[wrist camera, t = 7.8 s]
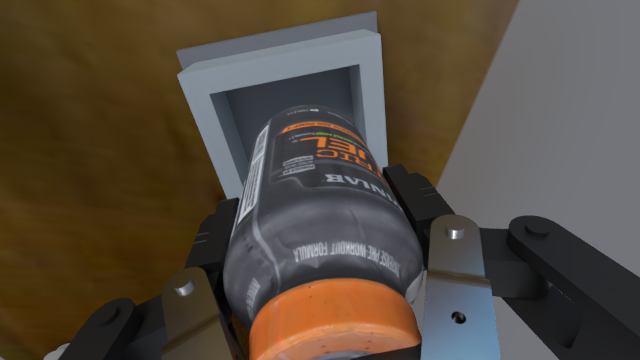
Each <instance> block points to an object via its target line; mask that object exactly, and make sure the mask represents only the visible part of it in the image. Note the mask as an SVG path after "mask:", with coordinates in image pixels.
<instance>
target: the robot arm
mask: <svg viewBox="0 0 640 360" xmlns="http://www.w3.org/2000/svg"><path fill="white" fill-rule="evenodd" d="M382 174H383V176H384V178H385V180H386V181H387V183H388V185H389V187H390V189H391V191H392V193H393V194H394V196H395V197H396V199H397V201H398V203H399V205H400V206H401V208H402V210H403V211H404V214H405V216H406V218H407V219H408V221H409V222H410V225H411V226H412V228H413V230H414V232H415V233H416V235H417V238H418V241H419V243H420V245H421V249H422V252H423V265H424V270H423V271H425V270H427V278H426V293H425V306H424V320H423V335H422V342H421V343H420V344H417V345H416V346H412V347H407V348H402V349H397V350H392V351H387V352H382V353H376V354H370V355H366V356H361V357H357V358H354V359H351V360H501V358H500V350H499V343H498V335H497V328H496V320H495V313H494V305H493V298H492V296H498V297H502V299H503V300H504V301H505V302H506V303H507V304H508V305H509V306H510V307H511V308H512V309H513V310H514V312H515V313H516V314H517V315H518V316H519V317H520V318H521V319H522V320H523V321H524V322H525V323H526V324H527V325H528V326H529V328H530V329H531V330H532V331H533V332H534V333H535V334H536V335H537V336H538V337H539V338H540V339H541V340H542V342H543V343H544V344H545V345H546V346H547V347H548V348H549V349H550V350H551V351H552V352H553V353H554V354H555V355H556V357H558V359H559V360H640V277H638V276H637V275H635V274H633V273H632V272H630V271H629V270H627V269H626V268H624V267H623V266H621V265H620V264H618V263H617V262H615V261H614V260H612V259H611V258H609V257H608V256H606V255H604V254H603V253H601V252H600V251H598V250H597V249H595V248H594V247H592V246H591V245H589V244H588V243H586V242H584V241H583V240H582V239H580V238H578V237H577V236H575V235H574V234H572V233H571V232H569V231H568V230H566V229H565V228H563V227H562V226H560V225H559V224H557V223H555V222H554V221H551V220H549V219H546V218H543V217H539V216H520V217H517V218H515V219H513V220H512V221H511V222H510V224H509V228H508V229H488V228H479V227H478V226H477V224H476V223H475V222H474V221H472V220H470V219H469V218H467V217H464V216H461V215H456V214H455V213H454V211H453V210H452V209H451V208H450V206H449V205H448V204H447V203H446V201H445V200H444V199H443V198H442V197H441V195H440V194H439V193H438V192H437V190H436V189H435V188H434V187H433V185H432V184H431V183H430V182H429V180H428V179H427V178H425V177H424V176H422V175H420V174H418V173H412V174H408V172H407V171H406V169H405V168H404V167H403V165H402V164H396V165H392V166H387V167H383V168H382ZM239 201H240V199H239V198H238V197H236V198H231V199H226V200H222V201H219V203H218V206H217V209H216V212H215V214H213V215H209V216H208V217H207V218H206V219H205V220H204V222H203V223H202V224H201V225H200V228H199V231H198V233H197V235H198V236H196V239H195V241H194V242H195V244H193V247H192V249H191V252H190V255H189V257H188V260H187V263H186V265H185V268H184V270H182V271H180V272H178V273H176V274H175V275H174V276H172V277H171V278H170V279H169V280H168V281H167V282H166V284H165V285H164V287H163V289H162V292H161V295H159V296H157V297H155V298H152V299H150V300H148V301H146V302H144V303H142V304H139V305H137V306H136V305H135V304H134V302H133V301H132V300H131V299H129V298H119V299H115V300H113V301H110V302H108V303H106V304H105V305H103V306H102V307H100V308H99V309H98V310H97V311H95V312H94V313H93V314H92V315H91V316H90V318H89V319H88V320H87V321H86V323H85V324H84V325H83V327H82V328H81V329H80V331H79V332H78V333H77V335H76V336H75V337H74V339H73V340H72V341H71V343H70V344H69V345H68V347H67V348H66V349H65V350H64V352H63V353H62V354H61V356H60V357H59V358H58V360H248V359H247V356H246V353H245V351H244V348H243V346H242V343H241V341H240V338H239V336H238V333H237V330H236V328H235V325H234V323H233V321H232V319H231V317H232V309H231V308H230V305H229V303H228V301H227V298H226V295H225V291H224V284H223V271H224V263H225V258H226V254H227V250H228V247H229V243H230V238H231V234H232V230H233V226H234V222H235V218H236V214H237V210H238V206H239ZM552 284H553V285H554V286H555V287H554V286H553V285H552ZM559 290H560V291H561V292H562V293H561V292H560V291H559ZM566 296H567V297H568V298H569V299H568V298H567V297H566Z"/></svg>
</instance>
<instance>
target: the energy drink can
mask: <svg viewBox="0 0 640 360" xmlns="http://www.w3.org/2000/svg"><path fill="white" fill-rule="evenodd" d="M69 344H70V343H67V344H64V345H62V346H60V347H59V348H58V349H57V350H56V351H53V352H51V353H49V354H48V355H46V356H45V358H44V359H43V360H58V358H59V357H60V356H61V354H62V353H63V352H64V350H65V349H66V348H67V347H68V345H69Z"/></svg>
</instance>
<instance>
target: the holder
mask: <svg viewBox="0 0 640 360" xmlns="http://www.w3.org/2000/svg"><path fill="white" fill-rule="evenodd" d="M176 54H177V56H178V59H179V61H180V64H181V66H182V69H183V71H182V72H180V73H179V74H177V77H178V79H179V82H180V84H181V87H182V89H183V92H184V94H185V96H186V99H187V101H188V104H189V106H190V109H191V111H192V114H193V116H194V119H195V121H196V124H197V126H198V128H199V131H200V133H201V136H202V138H203V141H204V143H205V146H206V148H207V151H208V153H209V155H210V158H211V160H212V163H213V165H214V168H215V170H216V173H217V175H218V178H219V180H220V183H221V185H222V187H223V190H224V192H225V195H226V197H227V199H231V198H236V197H238V198H239V199H240V197H241V194H242V189H243V185H244V181H245V177H246V173H247V169H248V165H249V161H250V156H251V153H252V147H253V144H254V141H255V139H256V137H257V135H258V133H259V131H260V130H261V128H262V127H263V126H264V125H265V123H266V122H267V121H269V120H270V119H271V118H272V117H274V116H275V115H276V114H278V113H280V112H282V111H284V110H286V109H289V108H291V107H296V106H302V105H321V106H325V107H329V108H331V109H334V110H337V111H338V112H340V113H341V114H343V115H344V116H346V117H347V118H348V119H349V120H350V121H351V122H353V124H354V125H355V126H356V128H357V129H358V131H359V132H360V134H361V136H362V138H363V139H364V141H365V143H366V145H367V147H368V149H369V151H370V152H371V154H372V156H373V158H374V160H375V161H376V163H377V165H378V167H379V169H380V170H381V172H382V168H383V167H387V166H388V158H387V140H386V122H385V104H384V86H383V68H382V50H381V34H378V32H377V15H376V11H370V12H365V13H360V14H355V15H350V16H344V17H339V18H334V19H329V20H324V21H319V22H314V23H309V24H304V25H299V26H294V27H289V28H284V29H279V30H274V31H269V32H264V33H259V34H254V35H249V36H244V37H239V38H234V39H229V40H224V41H219V42H214V43H209V44H204V45H199V46H194V47H189V48H184V49H180V50H177V51H176Z"/></svg>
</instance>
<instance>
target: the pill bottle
mask: <svg viewBox="0 0 640 360" xmlns="http://www.w3.org/2000/svg"><path fill="white" fill-rule="evenodd" d="M423 270H424V265H423V252H422V249H421V245H420V243H419V241H418V238H417V235H416V233H415V232H414V230H413V228H412V226H411V225H410V222H409V221H408V219H407V218H406V216H405V214H404V211H403V210H402V208H401V206H400V205H399V203H398V201H397V199H396V197H395V196H394V194H393V193H392V191H391V189H390V187H389V185H388V183H387V181H386V180H385V178H384V176H383V174H382V172H381V170H380V169H379V167H378V165H377V163H376V161H375V160H374V158H373V156H372V154H371V152H370V151H369V149H368V147H367V145H366V143H365V141H364V139H363V138H362V136H361V134H360V132H359V131H358V129H357V128H356V126H355V125H354V124H353V122H351V121H350V120H349V119H348V118H347V117H346V116H344V115H343V114H341V113H340V112H338V111H337V110H334V109H331V108H329V107H325V106H321V105H302V106H296V107H291V108H289V109H286V110H284V111H282V112H280V113H278V114H276V115H275V116H274V117H272V118H271V119H270V120H269V121H267V122H266V123H265V125H264V126H263V127H262V128H261V130H260V131H259V133H258V135H257V137H256V139H255V141H254V144H253V147H252V153H251V156H250V161H249V165H248V169H247V173H246V177H245V181H244V185H243V189H242V194H241V197H240V201H239V206H238V210H237V214H236V218H235V222H234V226H233V230H232V234H231V238H230V243H229V247H228V250H227V254H226V258H225V263H224V271H223V284H224V291H225V295H226V298H227V301H228V303H229V305H230V308H231V309H232V311H233V313H234V315H235V316H236V317H237V319H238V320H239V321H240V322H241V323H242V324H243V325H244V326H245V327H246V328H247V329H248V330H249V331H250V337H249V349H250V354H249V360H351V359H354V358H357V357H361V356H366V355H370V354H376V353H382V352H387V351H392V350H397V349H402V348H407V347H412V346H416V345H417V344H420V343H421V342H422V337H421V334H420V332H419V329H418V326H417V322H416V318H415V315H414V312H413V310H412V308H411V306H412V305H413V303H414V301H415V299H416V298H417V295H418V293H419V290H420V287H421V284H422V280H423Z"/></svg>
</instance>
